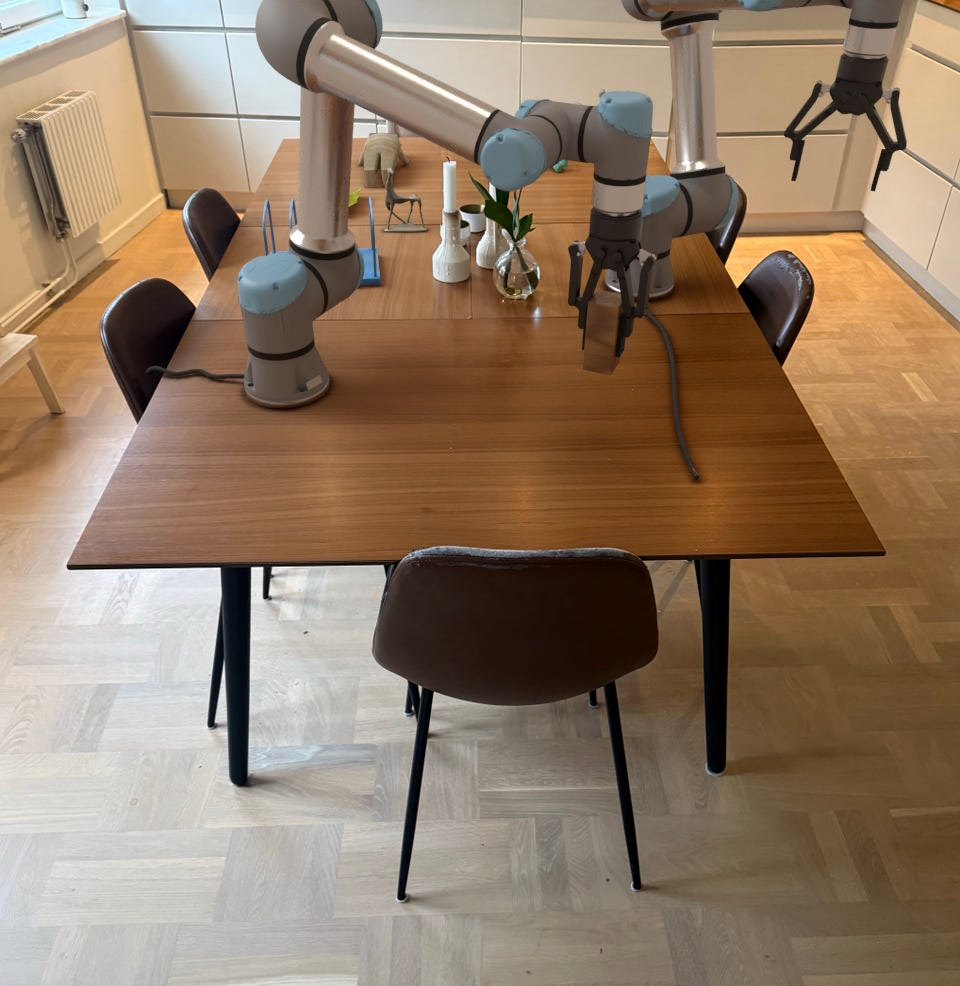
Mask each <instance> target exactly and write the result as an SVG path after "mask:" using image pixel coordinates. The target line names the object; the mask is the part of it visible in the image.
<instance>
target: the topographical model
mask: <svg viewBox="0 0 960 986" xmlns="http://www.w3.org/2000/svg"><path fill="white" fill-rule="evenodd" d="M361 190H362V187H359V188H358V189H356V190H355V191H353V192H350V193H349V208H350V207H352V206H354V205H356V204H358V200H359V197H360V193H361Z"/></svg>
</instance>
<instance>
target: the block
mask: <svg viewBox="0 0 960 986" xmlns="http://www.w3.org/2000/svg"><path fill="white" fill-rule="evenodd" d="M623 313H624V312H623V306H622V299H621V294H620V293H614V292H609V291H607V290H603V289H597V290H595V291H594V294H593V296H592V298H591V299H590V300H589V301H588V310H587V322H586V334H585V347H584V350H583V358H582V359H583V360H582V370H583V371H588V372H592V373H597V374H603V375H607V376H612V375H613V374H614V372H615V370H616V369H617V367H618V365H619V364H620V362H621V356H620V357H615V353H616V343H617V334H618V324H619V319H620V317H621V316H622V314H623Z"/></svg>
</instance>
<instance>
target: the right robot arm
mask: <svg viewBox="0 0 960 986" xmlns="http://www.w3.org/2000/svg"><path fill="white" fill-rule="evenodd" d="M620 1H621V4H622V7H623V8H624V10H625V12H626V13H627V14H628V15H629V16H630V17H632V18H633V19H636V20H637V21H638V20H639V21H641V22H648V23H649V22H650V23H651V22H659V23H660V34H661V35H662V36H663V37H664V38H665V39H666V40H667V41H668V44H669V45H668V47H669V60H670V61H669V63H670V77H671V93H672V95H671V96H672V111H673V127H674V128H673V129H674V143H675V158H676V159H675V160H676V163H675V165H674V167H672V169H671V170H670V172H669V175H666V174H656V175H654V174H648V175H647V174H646V184H645V192H644V201H643V206H642V208H641V209H640V210H641V211H642V219H641V228H640V236H639V241H640V244H641V247H642V249H643V250H645V251H647V252H649V253H652V252H655V253H657V255H658V257H657V259H656V261H655V263H654V265H653V267H652V274H651V282H650V291H649V299H648V302H653V301H654V302H655V301H659V300H662V299H665V298H667V297H669V296H671V294H672V293H673V291H674V286H675V278H674V273H673V267H672V263H671V258H670V257H671V248H672V242H673V239H677V238H678V239H679V238H683V237H689V236H692V235H697V234H705V233H706V234H707V233H711V232H713V231H716V230H719V229H722V228H724V227H725V226H727V225H728V224H729V223H730V221H731V220H732V218H734V215H735V214H736V211H737V208H738V204H739V189H738V185H737V183H736V182H735V179H734V177H733V176H732V175H730V174H728V173H727V172H726V163H724V162H723V161H722V160H721V159H720V158H719V157H718V138H717V137H718V135H717V118H716V117H717V116H716V96H715V76H714V75H715V73H714V52H713V51H714V49H713V32H714V31H715V29H716V28H717V27H718V26H719V24H720V14H721V13H723V12H724V11H748V12H749V11H750V12H758V13H760V12H769V11H774V10H783V9H793V8H797V9H798V8H808V7H810V8H811V7H819V6H820V7H821V6H833V7H840V8H845V9H851V10H850V14H849V18H848V23H847V27H846V31H845V35H844V41H843V45H842V50H843V51H844V52H843V53H842V54H841V55H840V57H839V62H838V65H837V70H836V74H835V78H834V80H833V81H834V82H833V83H832V84H830V83H825V82H823V81H822V80H820V79H819V80H817V81H815V83H814V86H813V88H812V92H811V94H810V96H809V97H808V99H807V100H805V102H804V103H803V105H802V106H801V108H800V110H799V111H798V112H797V113H796V115H795V116H794V118H792V120H791V121H790V123H789V124H788V126H787V127H786V128H785V130H784V132H783V137H785V138H786V139H787V138H788V139H790V140H791V141H792V145H791V149H790V154H789V161H795V162H794V165H793V170H792V174H791V178H790V181H791V182H796V181H797V179H798V175H799V171H800V166H801V162H802V156H803V153H804V148H805V143H806V139H804V138H805V137H806V136H808V135H809V134H810V133H811V132H813V131H814V130H815V129H816V128H817V127H818V126H820V124H822V123H823V122H824V121H826V120H827V119H828V117H830V116H831V115H833V114H834V113H835V112H838V113H840V115H850V114H851V115H853V116H856V117H857V116H858V117H860V116H862V115H864V114H865V115H866V117H867V119H868V120H869V121H870V123H871V126H872V127H873V129H874V131H875V132H876V134H877V136H878V138H879V140H880V142H881V144H882V146H883V147H884V148H881V149H880V153H879V157H878V160H877V164H876V168H875V171H874V174H873V175H874V176H873V179H872V183H871V187H870V192H876V189H877V185H878V182H879V178H880V175H881V172H887V171H888V170H889V168H890V166H891V162H892V157H893V155H894V153H895V152H898V151H904V150H906V149H907V147H908V139H907V136H906V132H905V126H904V122H903V117H902V112H901V108H900V103H899V102H900V95H901V88H899V87H897V86H896V87H894V88H892V89H889V88H888V89H884V88H883V82H884V79H885V75H886V72H887V67H888V64H889V60H890V59H889V57H888V56H887V55H889V54H891V52H892V49H893V45H894V41H895V38H896V34H897V30H898V26H899V21H900V20H899V19H900V16H901V12H902V10H903V6H904V2H905V0H620ZM827 93H828V94H829V95H830V98H831V100H832V101H831V102H830V103H828V105H827V106H826V107H825V108H823V109H822V110H821V111H820V112H819V113H817V114H816V115H815V116H814V117H813V118H812V119H810V121H808V122H807V123H806V124H805V125H804V126H803V127H802V128H800V129H799V130H798V131H797V130H796V129H797V127H798V126H799V125H800V123H801V122H802V121H803V120H804V119H805V117H806V115H807V114H808V113H809V112H810V110H811V109H812V108H813V106H814V105H815V104H816V102H817V100H818V99H819V98H823V97H824V95H825V94H827ZM882 98H884V99H885V103H886V104H888V105H889V108H890V113H891V119H892V123H893V127H894V132H895V138H896V141H893V139H892V137H891V135H890V132H889V131H888V129H887V128H886V126H885V123H884V122H883V120H882V118H881V116H880V114H879V113H878V109H877V108H876V106H875V105H876V104H877V103H878V102H879V101H880V100H881V99H882ZM639 262H640V259H639V257H636V258H635V259H634V260H633V261H632V262H631V263H630V266H631V272H630V274H631V281H632V288H633V295H634V302H637V299H638V290H639V280H640V273H641V269H642V267H641V266H640V264H639ZM604 288H605V290H606V291H608V292H614V293H620V286H619V280H618V278H617V273H616V272H615V271H612V270H610V269H607V271H606V273H605V276H604ZM620 294H621V293H620ZM645 314H646V315H647V317H648V318H649V319H650V321H651V322H652V323H654V324H655V325H656V326H657V327H658V329H659V331H660V333H661V334H662V336H663V339H664V342H665V343H664V344H665V346H666V349H667V352H668V353H667V354H668V357H669V358H668V359H669V364H670V365H669V366H670V375H671V396H672V397H671V398H672V399H671V400H672V410H673V419H674V425H675V430H676V434H677V438H678V443H679V445H680V449H681V452H682V455H683V457H684V460H685V462H686V465H687V466H688V468H689V471H690V473H691V475H692V477H693V479H694V481H699V480H700V479H701V477H700V475H699V472H698V470H697V468H696V466H695V464H694V462H693V460H692V457H691V455H690V452H689V449H688V447H687V444H686V441H685V438H684V437H685V436H684V435H683V429H682V425H681V420H680V412H679V411H680V410H679V402H678V382H677V381H678V380H677V368H676V367H677V366H676V361H675V354H674V351H673V347H672V344H671V341H670V338H669V335H668V332H667V330H666V328H665V326H663V323H661V322H660V320H658V319H657V318H656V317H655V316H654V315H653V313H652V311H651V310H650V304H649V303H648V308H647V311H646V313H645ZM690 464H691V465H690ZM692 468H694V469H696V470H695V471H697V473H698V475H699V476H698V475H697V474H696V472H695V473H694V471H693V469H692ZM695 474H696V475H695Z"/></svg>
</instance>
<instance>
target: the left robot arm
mask: <svg viewBox="0 0 960 986" xmlns="http://www.w3.org/2000/svg"><path fill="white" fill-rule="evenodd" d="M254 23H255V25H254V26H255V28H254V29H255V36H256V37H255V38H256V42H257V45H258V48H259V50H260V53H261V54H262V55H263V58H264V59H265V61H266V62H267V63H268V64H269V65H270V67H271V68H272V69H273V70H274V71H276V72H277V73H278V74H279V75H281V76H282V77H283V78H285V79H287V80H288V81H290V82H291V83H293V84H295V85H296V86H299V87H300V101H299V103H300V108H299V109H300V110H299V153H298V154H299V157H298V158H299V159H298V164H299V165H298V202H297V203H298V205H297V207H298V208H297V225H295V224H294V226H292V229H291V230H290V229H289V232H288V235H289V236H288V251H289V253H271V252H270V253H271V254H270V253H269V254H268V255H267V256H266V255H259V256H257V257H255V258H252V259H251V260H249V261H247V262H246V264H244V265H243V266H242V267H241V269H240V270H239V272H238V275H237V282H236V283H237V299H238V302H239V304H240V305H239V307H240V310H241V317H242V322H243V329H244V333H245V338H246V339H245V340H246V343H247V349H248V350H247V351H248V355H247V361H246V366H245V370H244V373H224V374H221V373H220V374H217V373H215V374H214V373H210V372H209V371H207V370H205V369H201V368H191V369H186V370H182V371H181V370H180V371H175V370H170V369H167V368H165V367H162V366H158V365H153V366H150V367H148V368H147V369H146V370H145V374H151V373H152V372H154V371H156V372H159V373H163V374H164V375H168V376H171V377H184V376H188V375H194V374H197V375H202V376H204V377H206V378H209V379H212V380H230V379H235V380H238V379H241V380H243V388H244V393H245V396H246V397H247V399H248V400H249V401H251V402H252V403H254V404H256V405H258V406H260V407H264V408H270V409H293V408H298V407H303V406H306V405H308V404H311V403H313V402H315V401H317V400H319V399H321V398H322V397H323V396H325V394H326V393H327V392H328V391H329V389H330V386H331V383H330V382H331V381H330V375H329V371H328V368H327V367H326V365H325V362H324V361H323V358H322V357H321V355H320V353H319V351H318V348H317V346H316V342H315V332H314V325H313V323H314V321H315V320H317V319H318V318H320V317H321V316H323V315H324V314H326V313H327V312H328V311H330V310H332V309H333V308H335V307H336V306H338V305H339V304H341V303H342V302H344V301H345V300H347V299H349V298H350V297H351V295H352V294H354V292H355V291H357V289H359V287H360V286H361V285H360V284H361V282H362V279H363V276H364V269H365V267H364V259H363V255H362V253H360V252H359V251H358V249H360V247H359V245H358V244H357V243H356V237H355V234H354V233H353V232H352V230H350V229H349V227H348V228H347V226H349V224H348V223H349V209H350V207H349V195H350V193H351V192H350V190H351V174H352V157H353V156H352V155H353V142H354V141H353V139H354V126H355V125H354V124H355V106H358V107H360V108H361V109H364V110H366V111H367V112H370V113H372V114H373V115H376V116H378V117H380V118H382V119H384V120H386V121H388V122H390V123H392V124H394V125H396V126H398V127H400V128H402V129H404V130H406V131H409V132H410V133H411V134H414V135H417V136H419V137H421V138H422V139H425V140H427V141H429V142H431V143H433V144H435V145H437V146H439V147H441V148H443V149H445V150H447V151H449V152H451V153H453V154H455V155H457V156H460V157H461V158H463V159H466V160H468V161H469V162H471V163H473V164H476V165H478V166H480V167H481V171H482V174H483V176H484V177H485V178H486V179H487V181H488V182H489V183H490V185H491V186H492V187H494V188H496V189H497V190H499V191H503V192H514V191H515V192H516V191H518V190H521V189H524V188H525V187H528V186H530V185H532V184H534V183H535V182H536V181H537V180H538V179H540V177H541V176H542V175H543V174H544V173H546V172H547V171H549V170H550V169H553V168H552V167H553V166H555V165H556V164H557V163H559V162H560V161H561V160H568V162H569V161H570V162H577V163H585V164H593V177H592V178H593V179H592V191H591V202H590V204H591V206H592V208H591V209H590V216H589V229H588V236H587V237H586V239H585V240H581V241H580V240H578V239H575V240H573V242H571V244H570V245H569V246H568V248H567V251H568V255H569V258H570V268H569V282H568V295H567V296H568V297H567V305H568V306H570V307H575V308H577V310H578V318H577V327H578V329H581V330H582V342H581V351H584V347H585V334H586V322H587V310H588V301H589V300H590V299H591V298H592V296H593V295H594V294H595V292H596V289H597V286H598V283H599V280H600V278H601V275H602V272H603V270H604V271H605V270H608V269H610V270H612V271H615V272H616V273H617V278H618V280H619V286H620V293H621V299H622V306H623V312H624V313H623V314H622V316H621V317H620V319H619V324H618V334H617V343H616V353H615V357H620V358H621V356H622V354H623V353H624V351H625V347H626V339H630V336H631V335H632V333H633V332H634V324H635V319H636V318H638V319H641V318H642V319H643V318H644V316H645V314H647V313H646V311H647V308H648V304H649V301H648V299H649V291H650V282H651V274H652V267H653V265H654V263H655V261H656V259H657V257H658V255H657V253H655V252H652V253H649V252H647V251H645V250H643V249H642V247H641V244H640V241H639V236H640V228H641V219H642V211H641V210H640V209H641V208H642V206H643V201H644V192H645V184H646V176H647V171H648V163H649V156H650V148H651V140H652V136H653V115H654V103H653V100H652V98H651V97H650V96H649V95H647V94H645V93H643V92H639V91H633V90H612V91H607V92H606V93H605V94H603V95H602V96H601V98H600V97H599V100H598V101H599V102H598V104H597V105H598V106H596V105H591V106H588V105H587V104H582V105H581V104H579V103H572V102H571V103H570V102H565V101H564V102H562V101H556V100H555V101H554V100H550V99H549V98H543V99H526V100H523V102H521V103H520V104H519V106H518V109H517V110H516V112H515V114H514V115H512V114H509V113H508V112H505V111H503V110H501V109H499V108H497V107H495V106H493V105H491V104H489V103H487V102H485V101H483V100H481V99H479V98H476V97H474V96H472V95H471V94H468V93H466V92H464V91H462V90H460V89H458V88H456V87H454V86H451V85H450V84H447V83H446V82H444V81H441V80H440V79H438V78H435V77H433V76H431V75H429V74H427V73H425V72H422V71H420V70H419V69H417V68H414V67H412V66H410V65H408V64H406V63H404V62H402V61H399V60H398V59H395V58H393V57H392V56H389V55H387V54H386V53H383V52H381V51H379V50H377V49H376V48H377V47H378V46H379V44H380V42H381V38H382V36H383V29H384V28H383V26H384V25H383V24H384V23H383V17H382V12H381V9H380V6H379V4H378V1H377V0H262V1H261V2H260V5H259V7H258V9H257V13H256V17H255V22H254ZM586 251H587V252H588V254H589V256H590V257H591V259H592V260H593V263H592V266H591V268H590V273H589V276H588V280H587V281H586V285H585V287H584V290H583V293H582V296H581V287H582V274H583V265H584V264H583V263H584V255H585V254H586ZM636 257H639V259H640V262H639V264H640V266H641V267H642V269H641V273H640V280H639V290H638V299H637V301H634V295H633V288H632V281H631V274H630V272H631V266H630V263H631V262H632V261H633V260H634V259H635V258H636ZM635 302H636V303H635Z"/></svg>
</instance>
